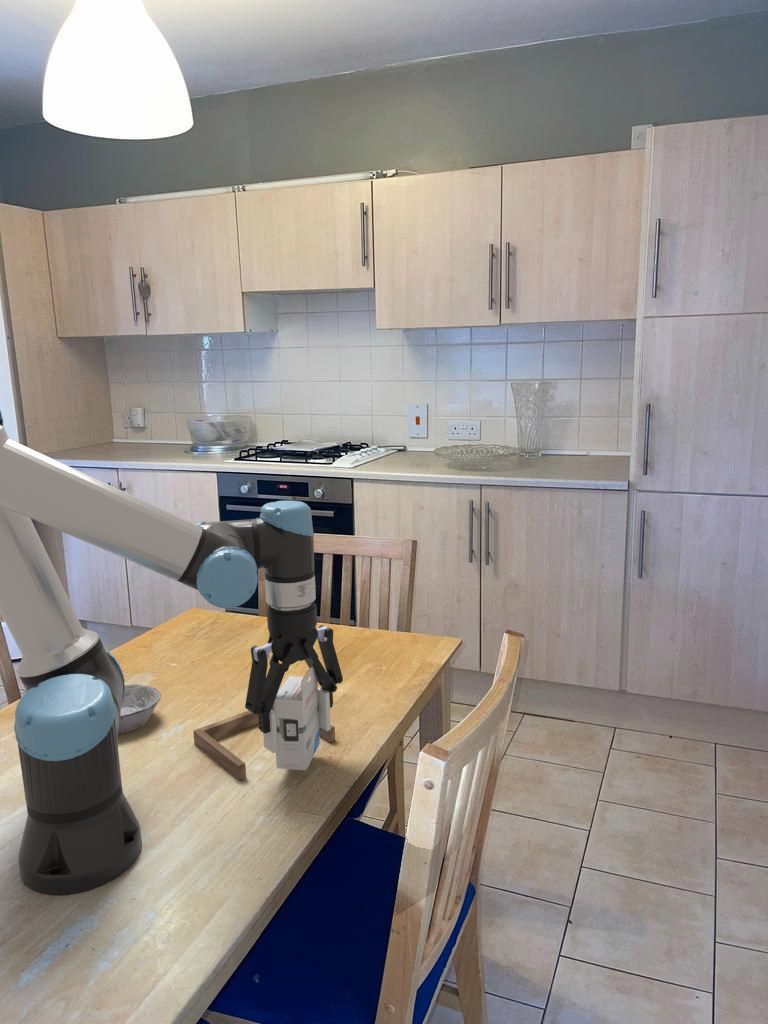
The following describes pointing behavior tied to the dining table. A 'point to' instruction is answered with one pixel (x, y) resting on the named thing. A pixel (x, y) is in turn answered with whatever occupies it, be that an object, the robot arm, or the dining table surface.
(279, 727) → the ink box
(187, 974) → the dining table surface
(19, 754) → the robot arm
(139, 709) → the bowl
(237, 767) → the wooden u-shaped frame
